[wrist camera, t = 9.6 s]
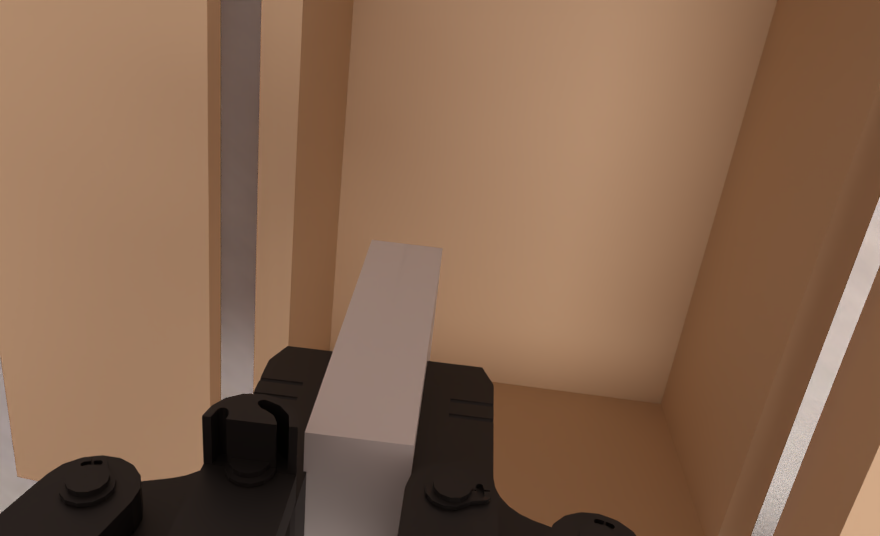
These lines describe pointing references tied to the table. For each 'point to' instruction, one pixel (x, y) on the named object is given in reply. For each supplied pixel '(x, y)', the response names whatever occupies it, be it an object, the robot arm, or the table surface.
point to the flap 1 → (110, 230)
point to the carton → (584, 221)
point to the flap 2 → (844, 445)
